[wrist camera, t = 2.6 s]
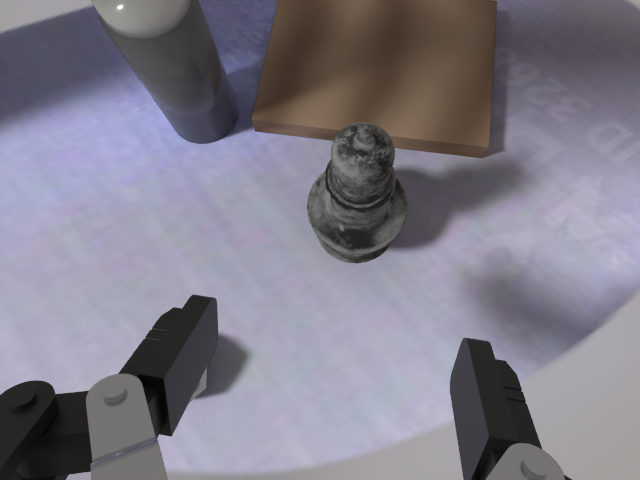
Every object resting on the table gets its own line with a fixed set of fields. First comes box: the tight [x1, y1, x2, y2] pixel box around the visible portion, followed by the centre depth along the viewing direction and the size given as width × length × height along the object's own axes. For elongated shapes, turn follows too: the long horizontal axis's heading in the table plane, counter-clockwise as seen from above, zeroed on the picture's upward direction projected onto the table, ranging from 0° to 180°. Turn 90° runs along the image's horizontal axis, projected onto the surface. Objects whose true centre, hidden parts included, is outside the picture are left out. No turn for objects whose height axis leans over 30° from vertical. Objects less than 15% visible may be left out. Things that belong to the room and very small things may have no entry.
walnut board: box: [251, 0, 497, 158], centre depth 31 cm, size 16×12×2 cm
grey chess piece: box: [307, 122, 407, 263], centre depth 23 cm, size 6×6×12 cm
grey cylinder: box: [91, 0, 239, 144], centre depth 26 cm, size 5×5×11 cm
